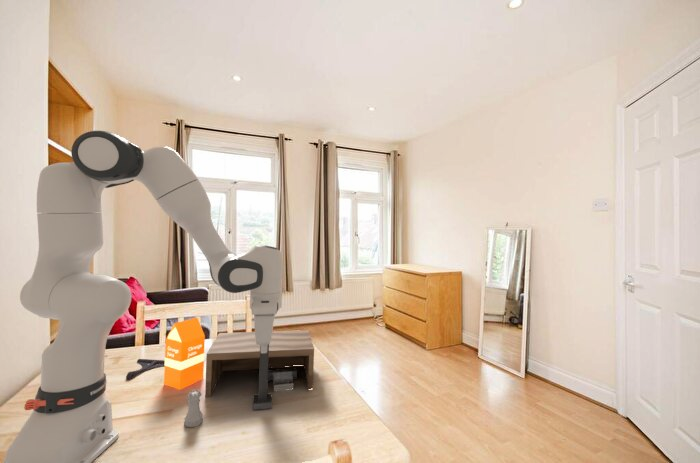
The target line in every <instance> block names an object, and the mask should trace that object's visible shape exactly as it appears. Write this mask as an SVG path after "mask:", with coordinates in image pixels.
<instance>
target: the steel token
mask: <svg viewBox="0 0 700 463" xmlns="http://www.w3.org/2000/svg"><path fill="white" fill-rule="evenodd" d="M292 388H293V389H294V379H293V378H292V375H290V376H278V377H274V380H273V392H277V391H276V390H282V391H286V390H285V389H292Z"/></svg>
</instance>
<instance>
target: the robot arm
mask: <svg viewBox="0 0 700 463" xmlns="http://www.w3.org/2000/svg"><path fill="white" fill-rule="evenodd" d="M70 152H71V157H72V158H71V159H72V162H56V163H52V164H50V165H47V166H46V165H45V167H44V168H43V169H42V170H40V173H39V177H38V181H37V188H36V189H37V190H36V217H37V233H38V235H37V236H38V252H37V257H36V263H35V266H34V270H33V273H32V276H31V277H30V279H29V280H27V281H26V282H25V284H24V285H23V286H22V288H21V290H20V292H19V293H20V294H19V300H20V303H21V305H22V307H23V308H24V309H25V310H27V311H29V312H30V313H32V314H34V315H35V316H38V317H40V318H44V319H49V320H50V319H51V320H58V323H59V327H58V330H57V333H56V336H55V338H54V340H53V342H52V343H50V344H49V345H47V347H45V349H44V350H43V352H42V353H41V354H42V355H41V366H40V367H41V371H40V386H39V387H38V389H37V392H36V394H35V397H34V398H32V399H31V398H30V399H27V401H25V404H24V407H23V408H24V410H25V411H32V412H31V414H30V415H29V416H28V419H27V420H26V421H25V422H24V424H23V426H22V427H21V428H20V429H19V432H18V433H17V435H16V436H15V437H14V439H13V440H12V442H11V444H10V445H9V447H8V448H7V449H6V452H5V454H4V460H3V463H92V462H93V461H94V460H96V458H98V457H99V456H100V455H101V454H102V453H103V452H104V451H106V450H107V449H108V448H109V447H110V446H111V445H112V444H113V443H115V441H117V440H118V439H119V437H120V436H119V432H118V430H115V429H114V428H113V427H114V426H113V412H112V411H113V410H112V402H111V401H110V400H109V399H108V397H107V396H106V394H105V392H106V389H107V375H106V373H105V361H106V360H105V359H106V358H105V357H106V345H107V342H108V341H107V340H108V337H109V335H110V332H111V330H112V328H113V326H114V325H115V322H117V321H118V320H119V319H120V318H122V317H123V316H125V314H126V313H127V312H128V310H129V308H130V305H131V302H132V290H131V289H130V287H129V285H128V284H127V283H126V282H124V281H123V280H120V279H118V278H115V277H112V276H111V275H105V274H95V273H91V270H90V269H91V265H92V261H93V258H94V256H95V255H96V253H97V252H98V251H100V250H101V249H102V248H103V245H104V230H103V229H104V228H103V227H104V226H103V215H102V214H103V213H102V192H103V191H104V189H109V188H114V187H117V186H121V185H126V184H130V183H131V182H134V181H137V182H140V183H141V184H143V185H144V186H145V187H146V188H147V190H148V192H150V194H151V195H152V197H153V198H154V199H155V201H156V202H157V204H158V205H159V206H160V208H161V210H163V211H164V213H165V214H166V215H167V216H168V217H169V218H170V219H171V220H172V221H173V222H174V223H175V224H177V225H178V226H179V227H180V228H182V230H184V232H186V233H188V235H189V236H190V237H191V238H192V239H193V241H194V242H195V243H196V245H197V247H198V248H199V249H200V251H201V252H202V254H203V255H204V257H205V259H206V260H207V263H208V266H209V273H210V277H211V280H212V281H213V283H215V284H216V286H218V287H220V288H221V289H223V290H224V291H226V292H228V293H232V294H238V293H243V292H248V291H249V309H250V310H251V314H252V316H253V327H254V332H255V340H256V344H257V345H260V346H261V353H267V346H268V344H270V342H271V337H272V331H274V330H273V329H274V324H275V317H276V315H277V314H278V311H279V310H280V309H281V308H282V302H283V301H282V300H283V289H282V278H283V273H284V272H283V270H284V268H283V255H282V251H281V250H280V248H278V247H276V246H275V247H274V246H270V245H265V244H255V245H254V246H253V247H251V248H249V249H248V250H246V251H244V252H242V253H240V254H235V253H233V252H232V251H231V250H230V249H229V248H228V247H227V246H226V244H225V242H224V241H223V239H222V237H221V236H220V234H219V232H218V231H217V229H215V227H214V224H213V221H212V220H213V219H212V216H211V215H212V214H211V210H212V209H211V207H212V206H211V205H212V204H211V201H210V198H209V196H208V194H207V192H206V190H205V188H204V185H203V184H202V183H201V181H200V180H199V178H198V177H197V175H196V174H195V172H194V171H193V169H192V168H191V167H190V166H189V164H188V163H187V162H186V161H185V160H184V158H182V156H181V155H180V154H179V153H178V152H177V151H176V150H174V149H173V148H171V147H168V146H163V145H161V146H154V147H151V148H149V149H147V150H146V149H145V150H142V149H141V148H140V147H139V146H138V145H136V144H134V143H132V142H130V141H129V140H128V139H126V138H124V137H122V136H121V135H118V134H116V133H114V132H113V133H112V132H110V131H106V130H91V131H87V132H84V133H81V134H80V135H79V136H77V138H76V139H75V140H74V141H73V144H72V146H71V151H70Z"/></svg>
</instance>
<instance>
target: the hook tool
mask: <svg viewBox="0 0 700 463" xmlns="http://www.w3.org/2000/svg"><path fill="white" fill-rule="evenodd" d="M268 356H269V344H268V346H267V353H261V346H260V363H259V369H258V372H259V373H258V392H257V394H253V399H252V400H253V402H252V403H253V404H252V410H253V411H255V410H267V409H272V406H273V405H272V402H273V401H272V393H268V385H269V384H268V381H274V377H278V376H290V375H292V378H293V380H294V379H298V369H297V368H298V367H297V368H296V367H294V368H284V369H283V368H282V369H281V368H280V369H269V368H268Z"/></svg>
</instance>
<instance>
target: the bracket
mask: <svg viewBox="0 0 700 463" xmlns="http://www.w3.org/2000/svg"><path fill="white" fill-rule="evenodd" d="M136 363H137V364H138V365H141V368H139V369H136V370H134V371H129V372H127V374H126V376H125V380H126V381H130V380H133V379H134V378H136V377H137V376H139V375H140V374H142V373H144V372H146V371H150V370H152V369H156V368H162V367H165V359H162V360H161V359H146V358H138V359H137V361H136Z"/></svg>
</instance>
